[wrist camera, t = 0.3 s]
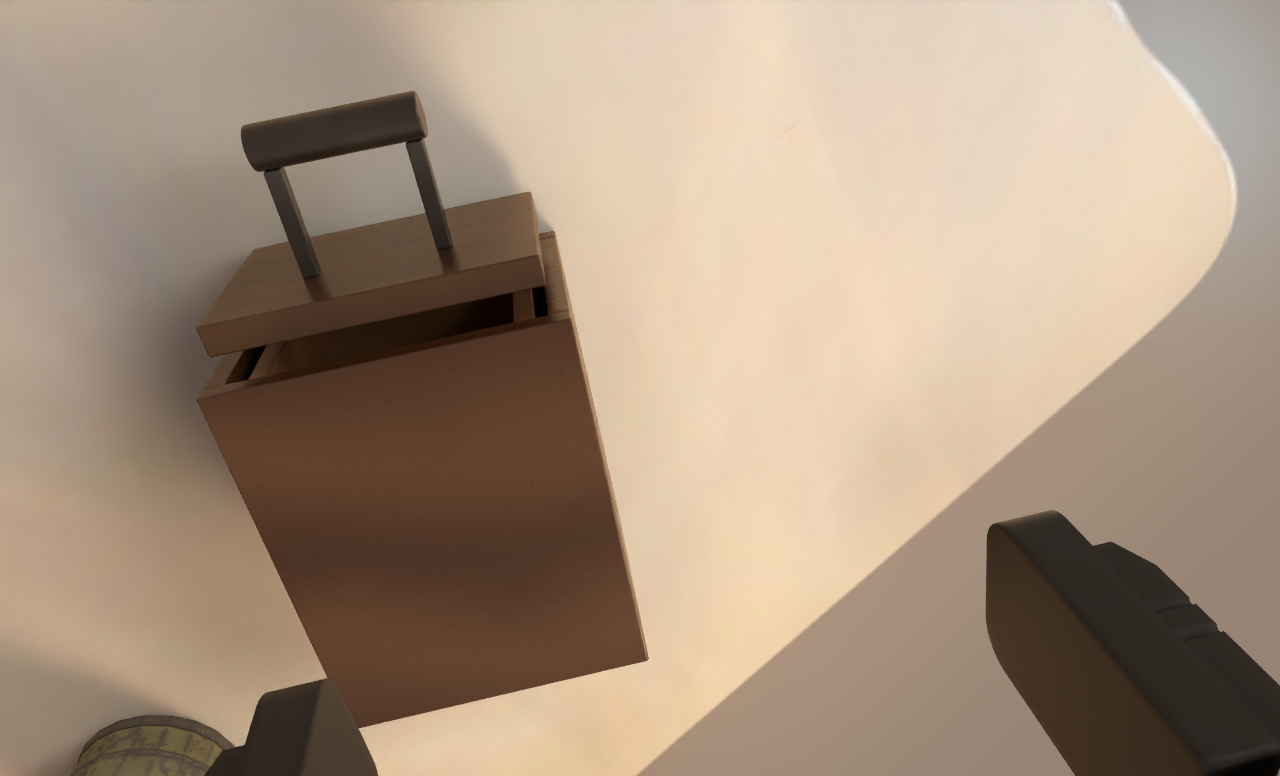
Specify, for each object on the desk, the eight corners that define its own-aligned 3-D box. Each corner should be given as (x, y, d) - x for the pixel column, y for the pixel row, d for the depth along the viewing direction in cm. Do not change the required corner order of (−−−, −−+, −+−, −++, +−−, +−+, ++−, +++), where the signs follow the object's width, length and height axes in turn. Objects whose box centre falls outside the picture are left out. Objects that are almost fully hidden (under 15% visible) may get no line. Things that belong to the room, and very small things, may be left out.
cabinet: (262, 292, 39) (195, 399, 31) (554, 230, 40) (571, 318, 31) (378, 579, 47) (351, 730, 39) (620, 524, 48) (649, 661, 39)
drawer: (199, 114, 35) (121, 165, 28) (498, 54, 36) (499, 88, 28) (368, 537, 45) (343, 657, 38) (599, 485, 46) (619, 593, 38)
